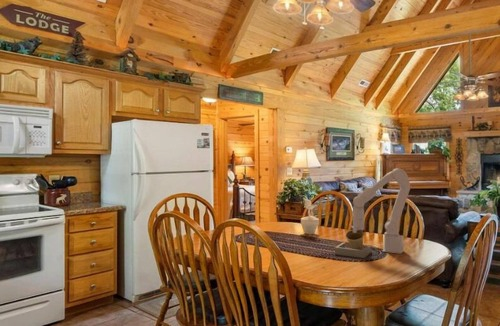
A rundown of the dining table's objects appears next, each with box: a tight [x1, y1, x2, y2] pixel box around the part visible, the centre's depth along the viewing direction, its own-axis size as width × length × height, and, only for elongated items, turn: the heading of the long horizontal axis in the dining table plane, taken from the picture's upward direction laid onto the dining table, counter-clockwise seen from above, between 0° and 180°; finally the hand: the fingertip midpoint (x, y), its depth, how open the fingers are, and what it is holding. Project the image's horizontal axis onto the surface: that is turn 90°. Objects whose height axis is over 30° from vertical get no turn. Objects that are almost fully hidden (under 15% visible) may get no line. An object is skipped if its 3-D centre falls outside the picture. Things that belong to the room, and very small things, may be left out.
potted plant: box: [300, 197, 320, 235], centre depth 246 cm, size 13×12×25 cm
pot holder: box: [334, 241, 372, 259], centre depth 196 cm, size 15×14×4 cm
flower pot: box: [345, 229, 365, 250], centre depth 200 cm, size 9×9×9 cm
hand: (358, 243), depth 205 cm, fingers closed
